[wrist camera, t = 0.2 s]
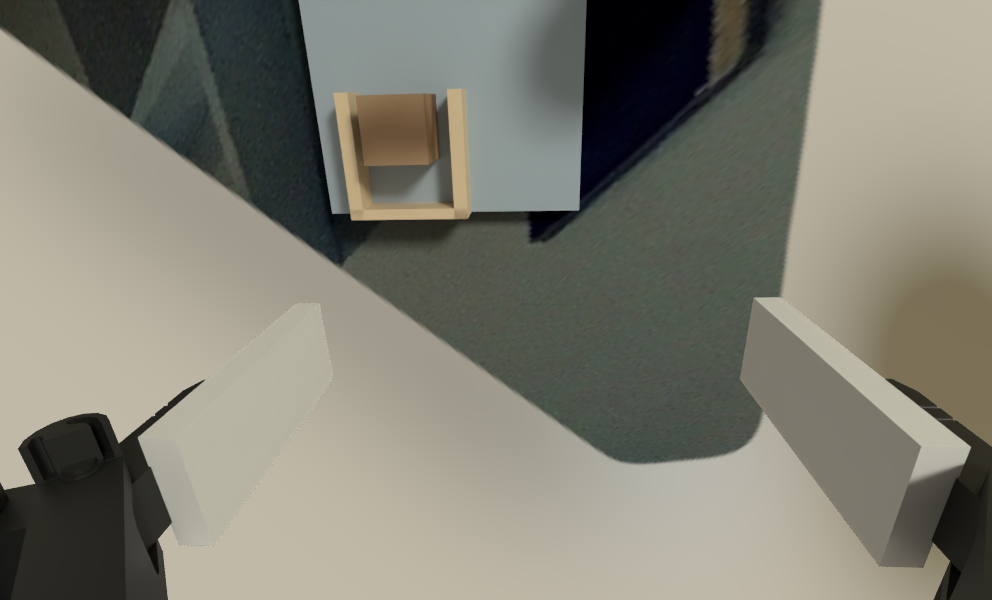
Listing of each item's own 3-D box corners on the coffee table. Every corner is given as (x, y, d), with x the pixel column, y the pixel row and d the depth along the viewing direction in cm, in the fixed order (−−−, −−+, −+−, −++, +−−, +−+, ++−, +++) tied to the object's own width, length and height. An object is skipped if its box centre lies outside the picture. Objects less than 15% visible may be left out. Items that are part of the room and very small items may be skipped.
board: (284, -168, 32) (247, -208, 28) (590, -191, 31) (599, -237, 26) (341, 208, 42) (319, 220, 37) (576, 205, 40) (581, 217, 36)
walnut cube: (375, 96, 36) (355, 95, 32) (435, 94, 36) (422, 93, 32) (383, 158, 38) (364, 166, 34) (440, 157, 37) (428, 164, 33)
